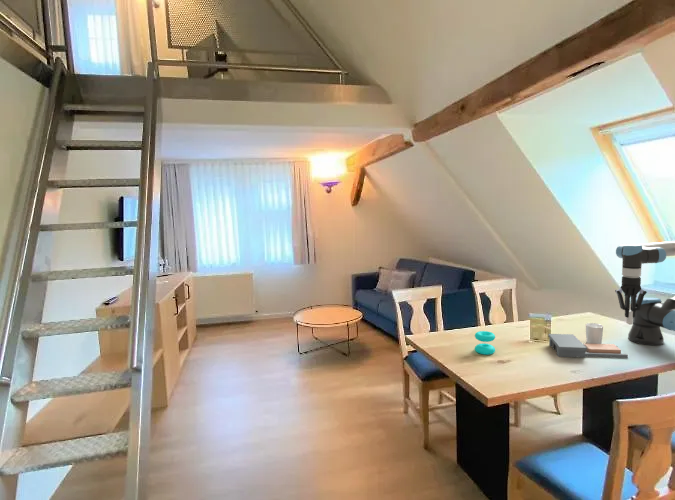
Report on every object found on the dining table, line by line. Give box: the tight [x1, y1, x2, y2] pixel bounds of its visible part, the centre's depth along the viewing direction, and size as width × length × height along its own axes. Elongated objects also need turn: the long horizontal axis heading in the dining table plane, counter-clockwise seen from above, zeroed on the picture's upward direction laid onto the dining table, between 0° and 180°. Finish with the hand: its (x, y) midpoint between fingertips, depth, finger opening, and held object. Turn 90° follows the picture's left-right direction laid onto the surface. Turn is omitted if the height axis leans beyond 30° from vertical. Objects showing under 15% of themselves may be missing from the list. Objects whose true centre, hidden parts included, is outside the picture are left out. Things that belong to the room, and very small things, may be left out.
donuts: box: [474, 330, 496, 356], centre depth 214 cm, size 10×10×10 cm
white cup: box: [585, 322, 604, 344], centre depth 218 cm, size 8×8×10 cm
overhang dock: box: [548, 333, 629, 359], centre depth 207 cm, size 31×20×6 cm, turn 77°
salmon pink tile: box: [582, 342, 622, 354], centre depth 206 cm, size 14×8×3 cm, turn 77°
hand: (629, 323), depth 202 cm, fingers closed
